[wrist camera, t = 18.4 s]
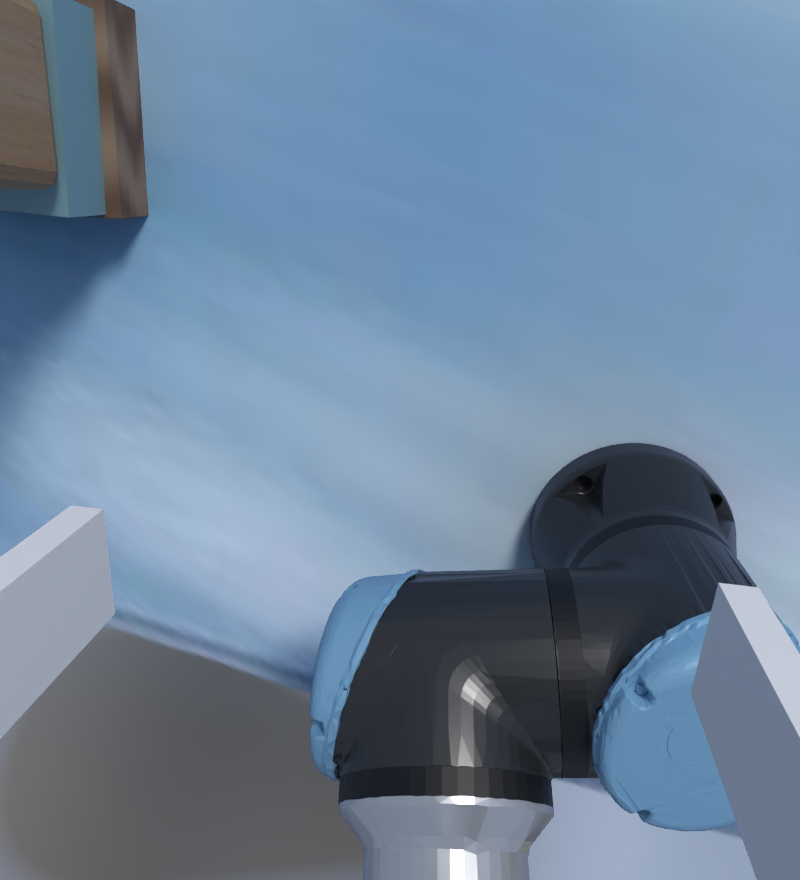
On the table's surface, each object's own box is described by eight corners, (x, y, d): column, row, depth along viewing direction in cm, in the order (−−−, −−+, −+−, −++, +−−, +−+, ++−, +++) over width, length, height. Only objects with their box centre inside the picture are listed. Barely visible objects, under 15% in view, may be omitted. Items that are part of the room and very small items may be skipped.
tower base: (151, 215, 51) (121, 218, 46) (-16, 203, 52) (-59, 205, 47) (138, 11, 46) (103, -6, 42) (-45, 3, 47) (-97, -15, 43)
